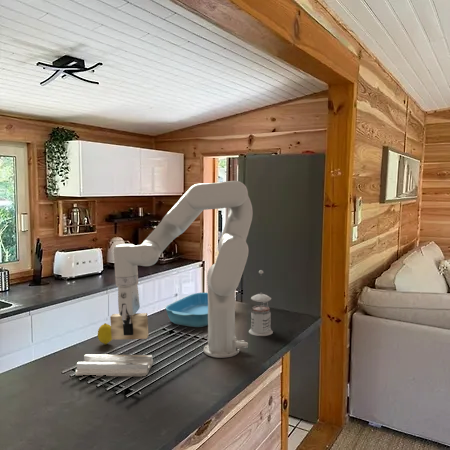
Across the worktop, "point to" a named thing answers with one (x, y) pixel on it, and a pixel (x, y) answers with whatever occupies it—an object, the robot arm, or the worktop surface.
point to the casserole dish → (190, 310)
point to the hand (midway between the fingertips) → (130, 332)
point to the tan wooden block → (138, 326)
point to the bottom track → (114, 365)
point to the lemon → (104, 334)
